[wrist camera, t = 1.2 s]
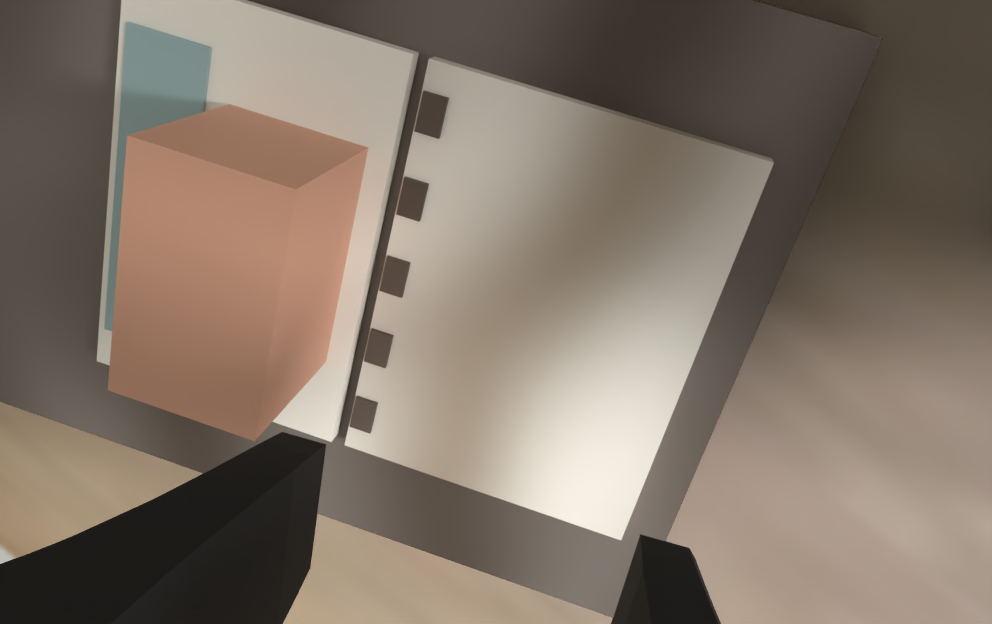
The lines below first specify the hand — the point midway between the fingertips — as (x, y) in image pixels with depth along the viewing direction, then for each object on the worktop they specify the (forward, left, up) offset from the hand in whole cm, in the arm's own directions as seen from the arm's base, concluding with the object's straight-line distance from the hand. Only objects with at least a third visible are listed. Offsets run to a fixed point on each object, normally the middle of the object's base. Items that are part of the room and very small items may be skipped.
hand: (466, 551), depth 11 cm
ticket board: (+7, 0, -9) cm, 12 cm away
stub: (+7, 0, -8) cm, 11 cm away
